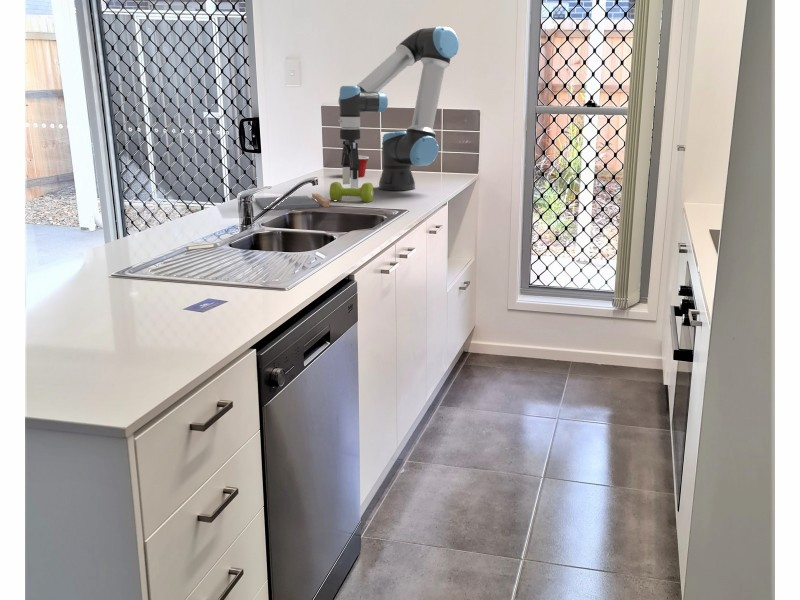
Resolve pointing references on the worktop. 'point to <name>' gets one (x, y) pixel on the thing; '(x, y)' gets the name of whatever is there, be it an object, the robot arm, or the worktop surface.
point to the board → (288, 202)
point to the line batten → (321, 200)
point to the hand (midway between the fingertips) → (350, 186)
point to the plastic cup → (361, 166)
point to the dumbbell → (351, 191)
